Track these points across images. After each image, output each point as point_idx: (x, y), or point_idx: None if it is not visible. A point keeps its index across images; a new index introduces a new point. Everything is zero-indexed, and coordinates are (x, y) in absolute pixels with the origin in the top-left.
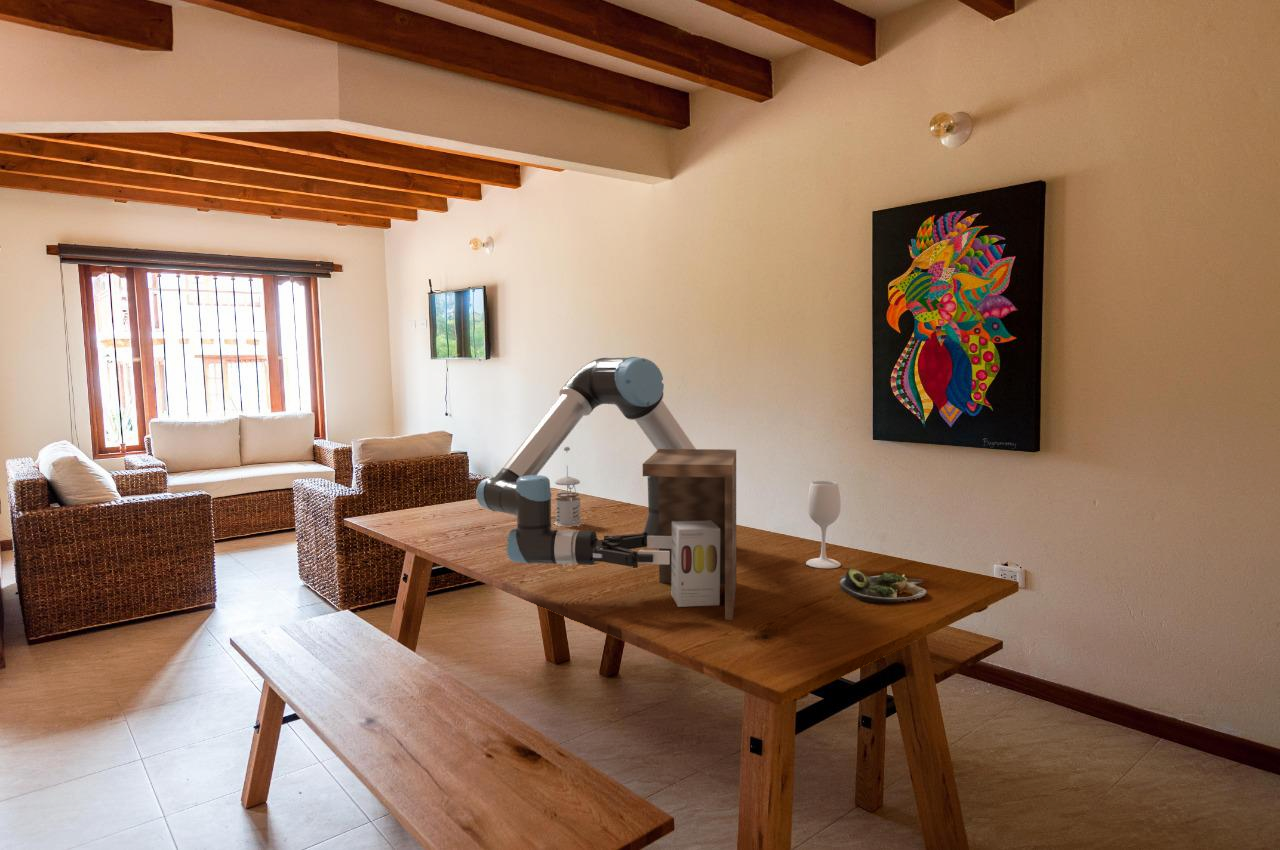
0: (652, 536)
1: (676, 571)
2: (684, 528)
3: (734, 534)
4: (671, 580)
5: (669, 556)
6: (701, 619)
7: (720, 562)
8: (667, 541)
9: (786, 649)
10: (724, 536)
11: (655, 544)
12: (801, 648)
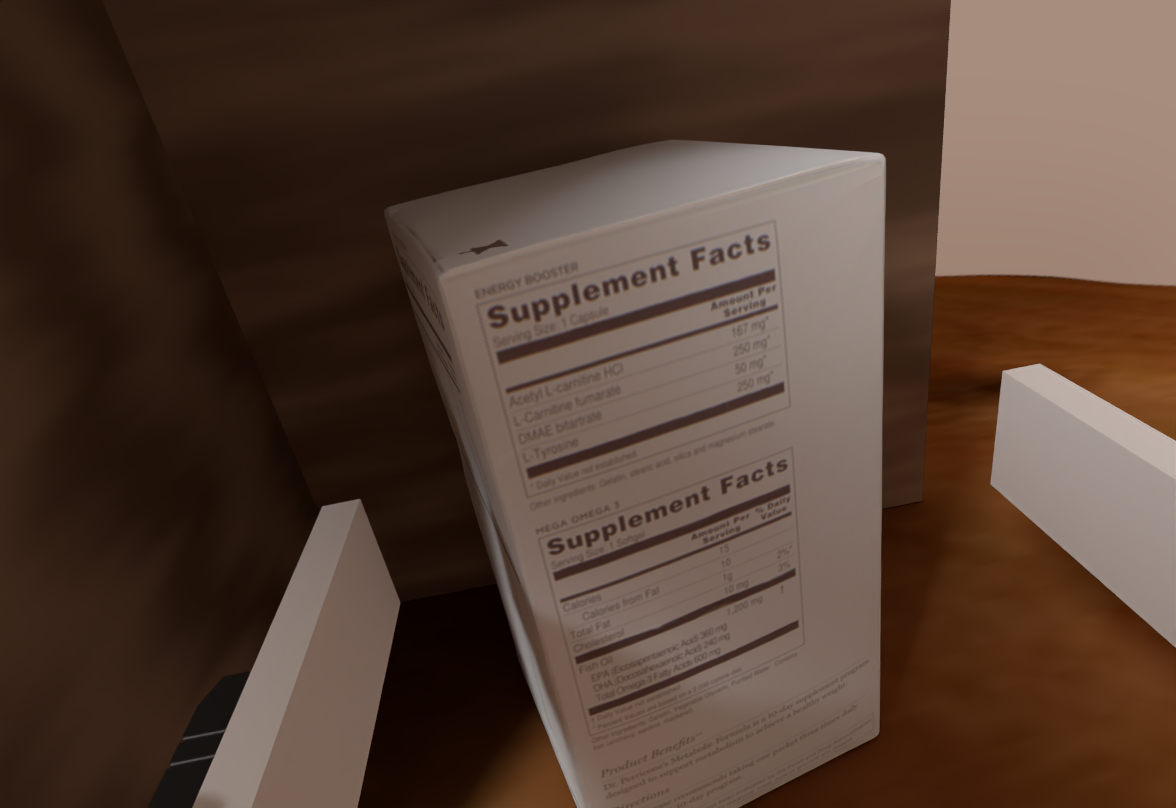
0: (277, 730)
1: (840, 563)
2: (812, 152)
3: None
4: (605, 788)
5: (1009, 417)
6: (997, 572)
7: (304, 544)
8: (357, 606)
9: (1065, 339)
10: (246, 385)
11: (340, 772)
12: (1021, 326)
